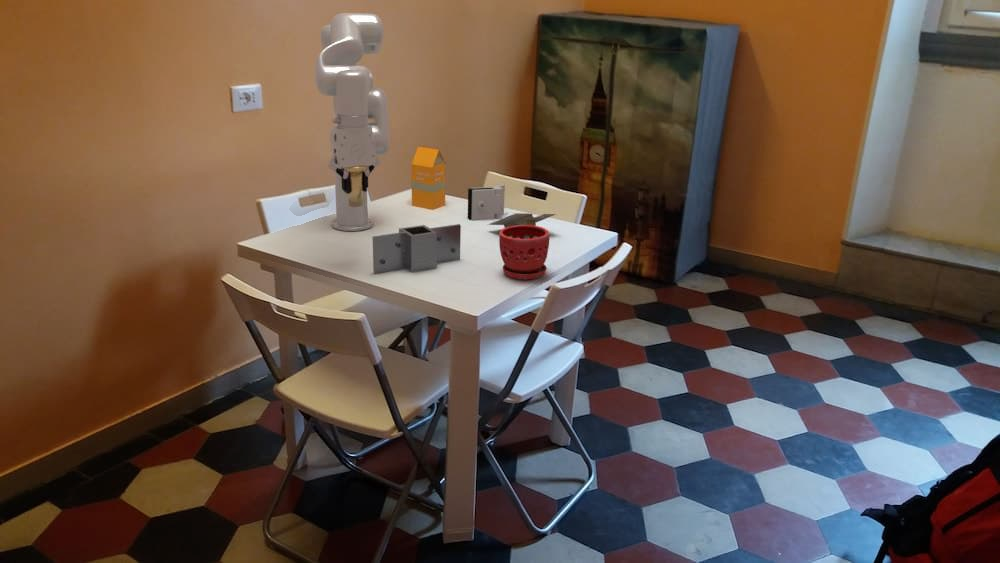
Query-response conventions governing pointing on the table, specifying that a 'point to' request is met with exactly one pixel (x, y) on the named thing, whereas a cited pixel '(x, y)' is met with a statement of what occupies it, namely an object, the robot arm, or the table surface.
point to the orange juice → (428, 178)
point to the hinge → (486, 203)
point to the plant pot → (524, 251)
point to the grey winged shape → (521, 219)
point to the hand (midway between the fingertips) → (355, 190)
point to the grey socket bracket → (416, 248)
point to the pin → (355, 185)
